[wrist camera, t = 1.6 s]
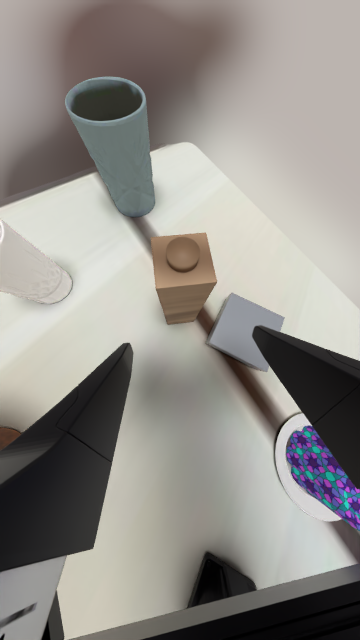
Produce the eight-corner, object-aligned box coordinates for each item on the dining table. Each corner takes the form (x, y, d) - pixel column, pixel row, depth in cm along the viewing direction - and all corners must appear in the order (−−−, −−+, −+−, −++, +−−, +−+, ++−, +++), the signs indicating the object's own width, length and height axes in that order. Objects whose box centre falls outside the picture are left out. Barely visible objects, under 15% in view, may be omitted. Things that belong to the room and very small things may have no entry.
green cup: (166, 197, 28) (160, 91, 17) (141, 228, 26) (113, 131, 15) (129, 179, 29) (98, 68, 18) (101, 208, 27) (45, 101, 16)
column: (193, 321, 22) (220, 275, 9) (167, 324, 22) (153, 282, 8) (189, 297, 23) (208, 223, 10) (164, 300, 23) (148, 227, 9)
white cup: (71, 262, 24) (1, 202, 14) (80, 298, 22) (6, 259, 13) (27, 274, 23) (-80, 220, 13) (32, 313, 22) (-86, 283, 12)
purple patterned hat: (341, 409, 20) (399, 430, 15) (367, 512, 17) (451, 582, 12) (265, 410, 19) (297, 431, 14) (279, 515, 17) (325, 588, 11)
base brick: (256, 369, 20) (266, 372, 18) (205, 343, 21) (209, 342, 19) (272, 321, 22) (284, 317, 20) (225, 298, 23) (231, 292, 21)
